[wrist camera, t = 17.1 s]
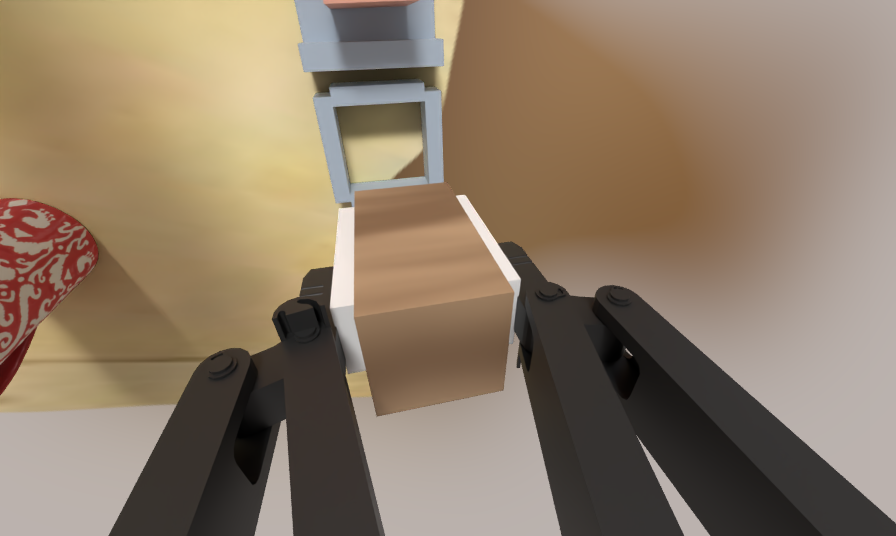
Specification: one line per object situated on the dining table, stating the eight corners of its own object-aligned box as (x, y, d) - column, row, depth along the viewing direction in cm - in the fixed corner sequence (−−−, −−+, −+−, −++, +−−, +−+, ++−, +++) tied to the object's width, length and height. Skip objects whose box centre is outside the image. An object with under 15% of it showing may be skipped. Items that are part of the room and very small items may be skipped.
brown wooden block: (354, 191, 15) (353, 317, 8) (447, 182, 15) (514, 291, 9) (368, 269, 17) (377, 416, 10) (448, 258, 18) (503, 390, 11)
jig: (212, -387, 15) (179, -483, 12) (418, -354, 16) (431, -434, 14) (338, 198, 30) (336, 215, 28) (439, 187, 32) (447, 203, 29)
